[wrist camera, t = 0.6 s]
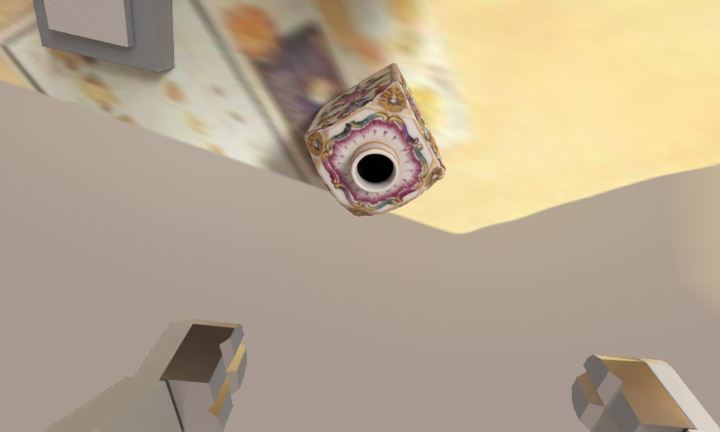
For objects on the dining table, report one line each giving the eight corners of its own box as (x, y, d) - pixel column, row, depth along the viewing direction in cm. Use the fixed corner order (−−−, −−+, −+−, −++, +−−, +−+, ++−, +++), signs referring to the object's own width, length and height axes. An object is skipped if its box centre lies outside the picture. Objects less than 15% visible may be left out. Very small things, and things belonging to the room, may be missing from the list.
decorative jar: (396, 59, 47) (401, 85, 31) (435, 137, 51) (457, 194, 36) (318, 106, 50) (288, 151, 35) (361, 175, 55) (352, 242, 39)
